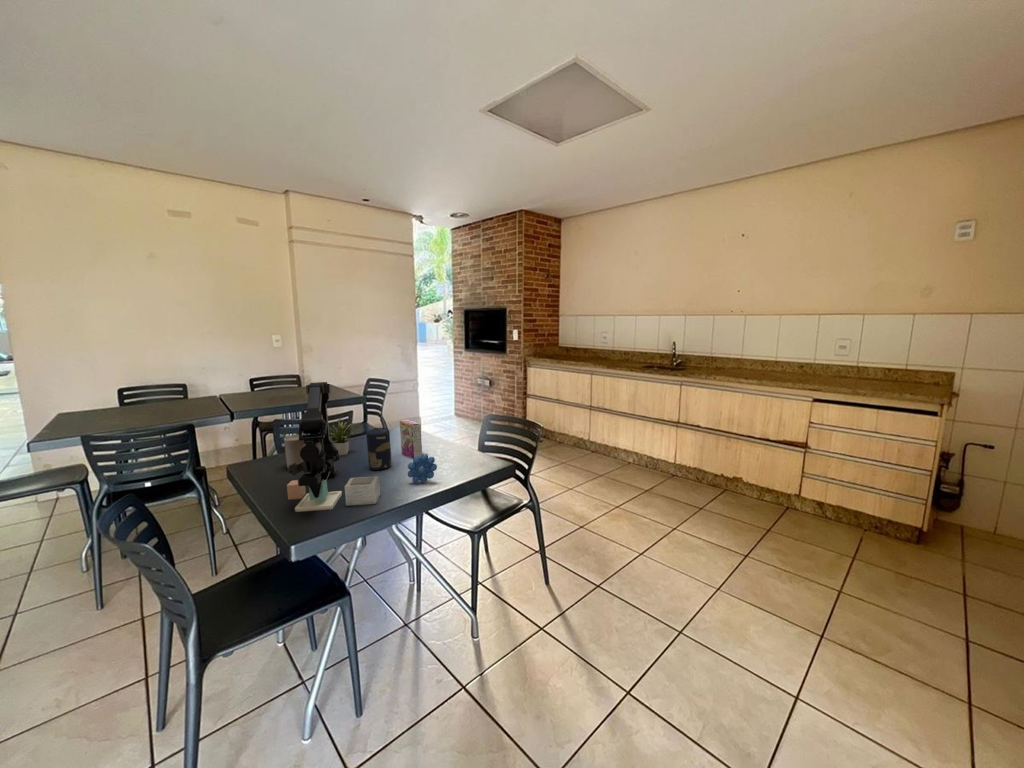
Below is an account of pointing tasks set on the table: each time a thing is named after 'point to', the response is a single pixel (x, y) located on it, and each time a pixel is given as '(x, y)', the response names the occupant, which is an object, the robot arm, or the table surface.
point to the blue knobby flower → (422, 468)
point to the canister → (378, 448)
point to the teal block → (322, 492)
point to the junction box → (362, 491)
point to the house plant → (341, 438)
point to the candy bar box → (411, 438)
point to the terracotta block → (295, 490)
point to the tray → (318, 502)
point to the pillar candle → (293, 449)
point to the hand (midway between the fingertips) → (318, 494)
